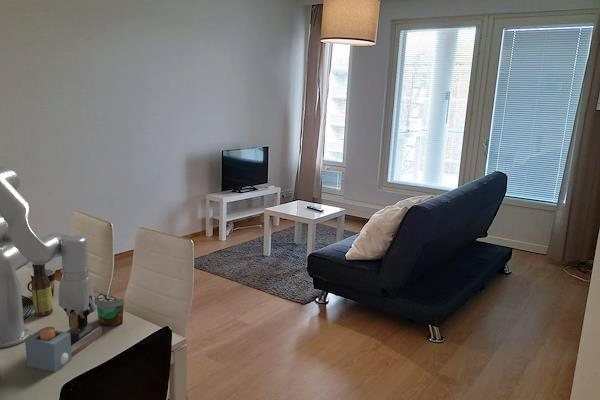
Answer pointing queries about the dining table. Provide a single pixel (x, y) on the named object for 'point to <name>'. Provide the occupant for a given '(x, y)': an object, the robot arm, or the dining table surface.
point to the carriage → (77, 327)
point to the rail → (85, 341)
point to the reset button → (47, 333)
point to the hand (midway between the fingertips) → (78, 326)
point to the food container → (109, 310)
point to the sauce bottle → (41, 291)
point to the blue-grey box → (48, 351)
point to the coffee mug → (50, 276)
